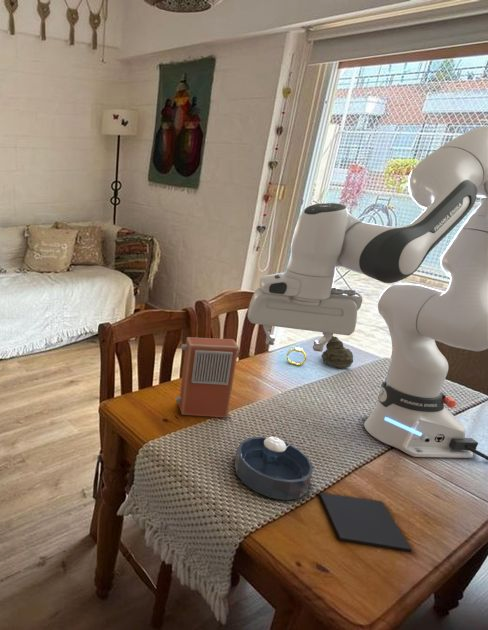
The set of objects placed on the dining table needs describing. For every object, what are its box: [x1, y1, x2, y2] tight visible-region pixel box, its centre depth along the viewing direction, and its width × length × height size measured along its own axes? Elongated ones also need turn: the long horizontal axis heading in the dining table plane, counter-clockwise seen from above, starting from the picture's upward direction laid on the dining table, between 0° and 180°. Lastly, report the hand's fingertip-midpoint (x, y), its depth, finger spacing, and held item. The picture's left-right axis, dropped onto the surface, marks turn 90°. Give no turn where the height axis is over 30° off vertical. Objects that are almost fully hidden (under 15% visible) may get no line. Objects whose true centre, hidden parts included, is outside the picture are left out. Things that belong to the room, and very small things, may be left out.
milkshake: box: [261, 436, 293, 478], centre depth 97 cm, size 5×5×10 cm
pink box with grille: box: [175, 336, 240, 419], centre depth 120 cm, size 21×7×15 cm
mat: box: [318, 492, 412, 552], centre depth 87 cm, size 12×12×1 cm
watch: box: [286, 346, 307, 367], centre depth 151 cm, size 6×3×6 cm, turn 60°
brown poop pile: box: [321, 335, 354, 369], centre depth 151 cm, size 11×12×10 cm
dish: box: [234, 436, 314, 501], centre depth 98 cm, size 15×15×5 cm
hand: (292, 347), depth 94 cm, fingers open, 8 cm apart
